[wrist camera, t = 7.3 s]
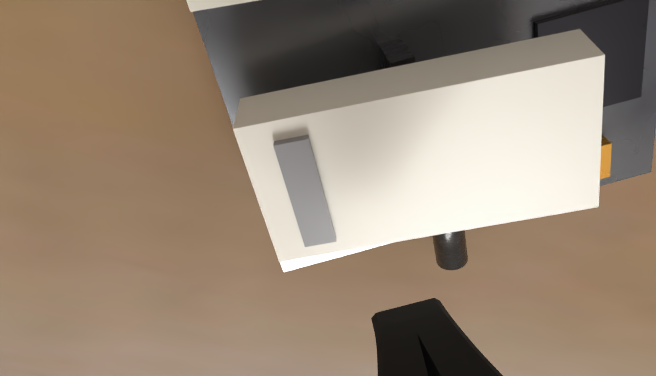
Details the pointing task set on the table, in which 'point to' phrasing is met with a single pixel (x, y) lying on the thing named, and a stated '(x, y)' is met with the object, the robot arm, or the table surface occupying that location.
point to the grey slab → (429, 43)
